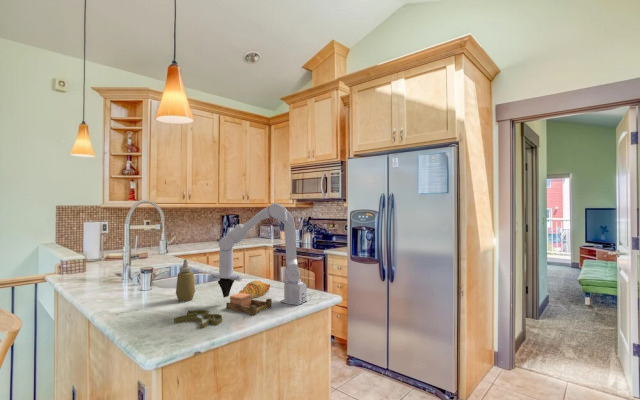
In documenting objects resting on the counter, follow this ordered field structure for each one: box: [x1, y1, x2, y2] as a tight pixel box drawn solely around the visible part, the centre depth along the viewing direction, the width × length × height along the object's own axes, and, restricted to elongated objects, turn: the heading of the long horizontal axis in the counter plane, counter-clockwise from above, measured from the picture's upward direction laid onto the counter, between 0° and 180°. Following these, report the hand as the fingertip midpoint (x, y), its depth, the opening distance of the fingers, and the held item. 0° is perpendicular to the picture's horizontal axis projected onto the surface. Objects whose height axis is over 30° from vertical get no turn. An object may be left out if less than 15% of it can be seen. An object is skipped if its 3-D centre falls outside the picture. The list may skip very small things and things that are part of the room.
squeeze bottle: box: [175, 258, 196, 302], centre depth 150 cm, size 8×8×18 cm
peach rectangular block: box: [229, 292, 252, 306], centre depth 139 cm, size 6×6×4 cm
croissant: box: [238, 280, 271, 299], centre depth 158 cm, size 21×10×8 cm, turn 148°
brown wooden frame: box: [225, 298, 272, 316], centre depth 138 cm, size 15×11×4 cm
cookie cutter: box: [173, 309, 223, 329], centre depth 124 cm, size 18×12×2 cm, turn 65°
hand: (226, 296), depth 143 cm, fingers closed
